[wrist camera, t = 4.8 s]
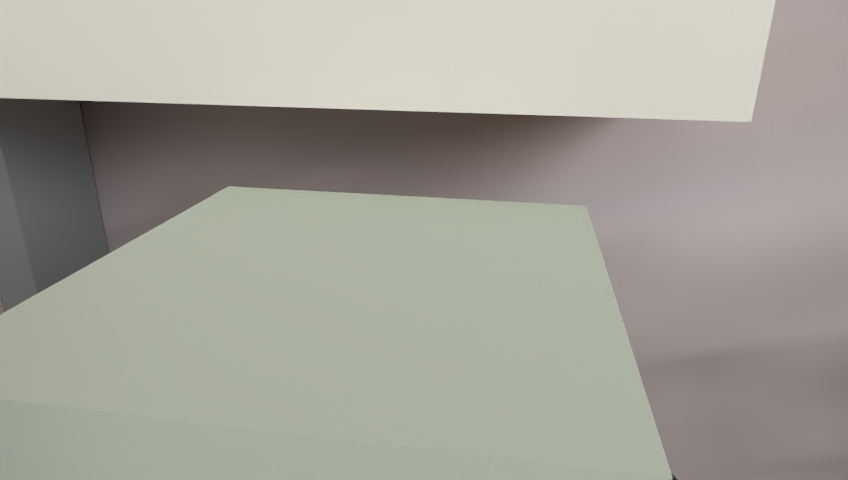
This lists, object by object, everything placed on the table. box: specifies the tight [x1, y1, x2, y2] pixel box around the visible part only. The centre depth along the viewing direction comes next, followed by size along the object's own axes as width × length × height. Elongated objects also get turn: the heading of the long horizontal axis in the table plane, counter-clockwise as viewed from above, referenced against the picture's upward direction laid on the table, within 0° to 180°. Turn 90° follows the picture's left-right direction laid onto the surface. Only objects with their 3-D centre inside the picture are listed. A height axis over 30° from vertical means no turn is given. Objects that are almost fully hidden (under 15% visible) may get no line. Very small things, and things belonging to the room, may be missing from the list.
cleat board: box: [0, 0, 776, 312], centre depth 12 cm, size 10×14×5 cm
